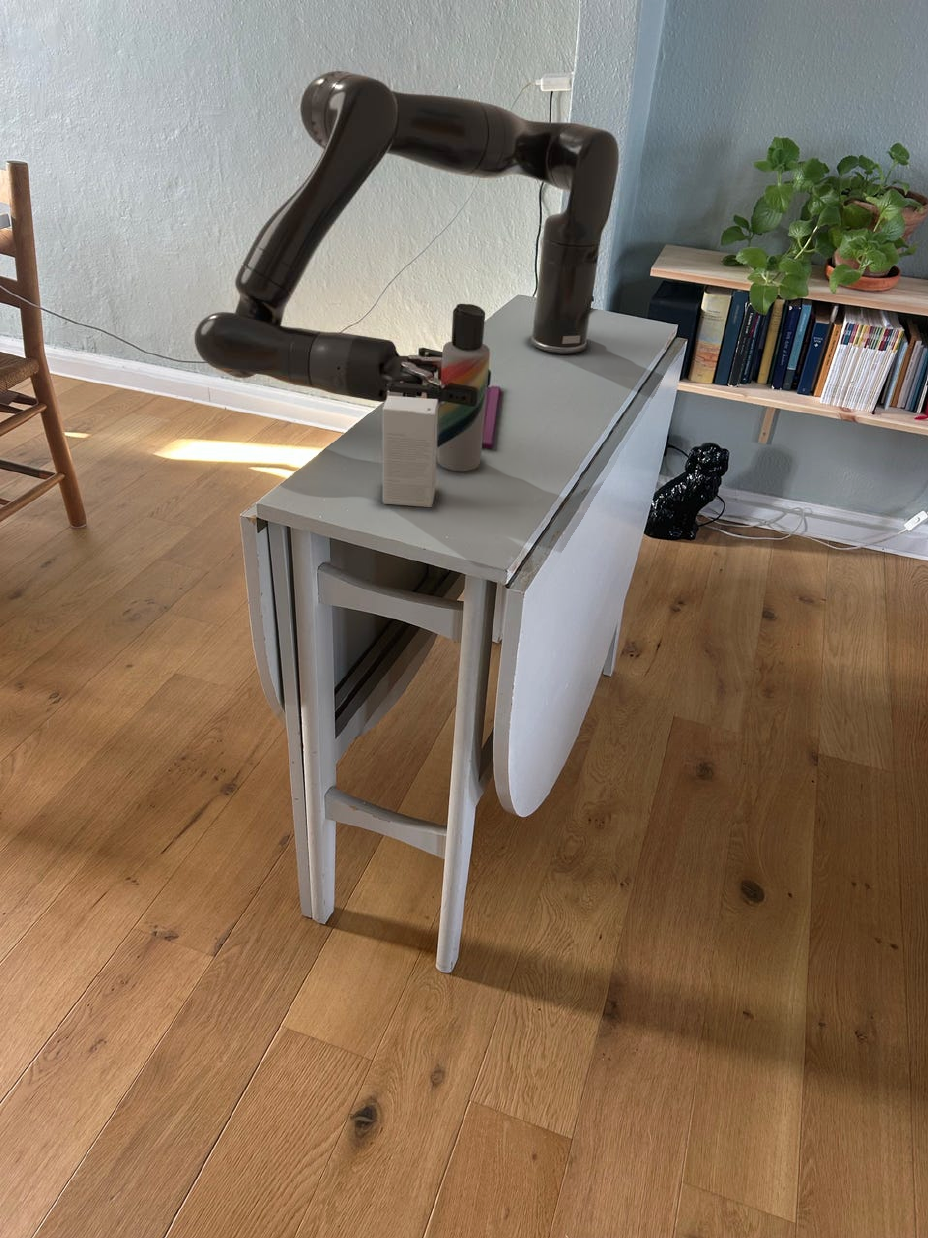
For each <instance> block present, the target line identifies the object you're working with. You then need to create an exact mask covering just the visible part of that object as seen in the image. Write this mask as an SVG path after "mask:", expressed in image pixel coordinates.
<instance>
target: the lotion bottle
mask: <svg viewBox="0 0 928 1238" xmlns="http://www.w3.org/2000/svg"><path fill="white" fill-rule="evenodd" d="M451 320H452V322H451V325H452V326H451V338H450V339H451V340H450V341H448V342H446V343H445V344H444V345H443V347H442V352H443V354H442V370H441V381H444V382H446V383H447V386H448V384H449V383H454V384H459V385H466V386H472V387H476V388H478V390H479V395H478V403H477V404H476V406H474V407H472V406H466V405H460V404H454V403H449V402H447V401H446V403H445V404H439V406H438V420H439V425H438V443H437V450H436V462H437V463H438V465H439V466H441V467H442V468H444V469H446V470H447V471H453V472H470V471H473V470H475V469H477V468H478V467H479V466H480V464H481V459H482V448H483V447H482V439H483V428H484V416H485V405H486V394H487V382H488V371H489V370H490V369H489V368H490V360H491V359H490V358H491V350H490V348H489V347H488V345H486V344H484V333H485V332H484V331H485V321H486V312H485V310H484V309H483V308H482V307H480V306H478V305H475V304H472V303H458V304H456V306H455V308H453V310H452V319H451Z"/></svg>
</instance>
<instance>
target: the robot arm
mask: <svg viewBox="0 0 928 1238" xmlns="http://www.w3.org/2000/svg"><path fill="white" fill-rule="evenodd" d="M299 113H300V118H301V122H302V124H303V127H304V130H305V131H306V133H307V134H308V136H309V137H310V138H311V140H312V141H313V143H315V144H316V145H317V146H319V147H320V148H321V149H322V150H323V151H322V154H321V155H320V158H319V159H318V161H317V163H316V165H315V166H314V168H313V170H311V173H310V174H309V175H308V177H306V179H305V181H303V183H302V184H300V186H299V188H298V189H296V191H295V192H294V193H293V194H292V195H291V196H290V197H289V198H287V200H285V202H283V204H282V205H280V207H279V208H278V209H276V211H275V212H274V213H273V214H272V215H271V216H270V217H269V218H268V220H267V221H266V222H265V223H264V225H263V226H262V228H260V230H259V232H258V233H257V235H256V237H255V239H254V241H253V242H252V245H251V246H250V248H249V250H248V252H247V254H246V256H245V258H244V259H243V262H242V264H241V266H240V268H239V269H238V271H237V274H236V276H235V281H234V286H235V289H236V291H237V293H238V295H239V299H238V302H237V305H236V309H235V312H230V311H219V312H218V311H217V312H213V313H211V314H209V315H207V316H205V317H204V318H203V319H202V320H201V321H199V323H198V324H197V327H196V329H195V332H194V345H195V349H196V351H197V353H198V355H199V356H200V358H202V360H203V361H204V362H205V363H206V364H207V365H209V366H210V367H212V368H213V369H216V370H218V371H221V372H223V373H225V374H227V375H229V376H231V377H234V378H237V379H249V378H251V377H253V376H256V375H261V376H267V377H270V378H273V379H275V380H277V381H280V382H282V383H285V384H288V385H293V386H299V387H304V388H305V387H306V388H311V389H316V390H320V391H323V392H326V393H330V394H334V395H337V396H338V395H339V396H344V397H351V398H356V399H362V400H366V401H373V402H377V403H385V402H386V399H387V396H400V397H413V398H425V399H438V405H440V404H445V403H446V401H447V402H449V403H454V404H460V405H466V406H472V407H474V406H476V404H477V403H478V395H479V390H478V388H476V387H472V386H466V385H459V384H454V383H449V384H448V386H447V383H446V382H444V381H441V370H442V354H443V351H439V350H435V349H431V348H427V347H419V348H418V354H408V355H401V354H399V352H398V351H397V347H396V345H395V343H394V342H393V341H391V340H389V339H384V338H377V337H373V336H371V337H370V336H365V335H359V334H353V333H347V332H340V331H321V330H314V329H309V328H303V327H292V326H285V325H282V324H283V323H282V322H283V319H284V315H285V311H286V308H287V306H288V304H289V302H290V300H291V299H292V298H293V297H292V296H293V295H294V293H295V292H296V289H297V288H298V286H299V283H300V282H301V280H302V277H303V276H304V275H305V272H306V271H307V268H308V267H309V264H310V263H311V261H312V260H313V257H314V256H315V255H316V252H317V251H318V249H319V247H320V246H321V244H322V242H323V241H324V240H325V237H327V235H328V233H329V232H330V230H331V229H332V228H333V226H334V225H335V224H336V222H337V220H338V219H339V218H340V216H341V215H342V213H343V212H344V211H345V210H346V208H347V207H348V206H349V204H350V202H352V200H353V199H354V197H355V196H356V194H357V193H358V192H359V190H360V189H361V188H362V186H363V185H364V183H366V181H367V180H368V178H369V177H370V176H371V174H372V173H373V172H374V170H376V168H377V167H378V166H379V164H380V163H381V161H382V160H383V158H384V157H385V156H386V154H388V155H393V156H396V157H399V158H404V159H405V160H409V161H411V162H415V163H417V164H420V165H423V166H426V167H428V168H432V169H436V170H438V171H442V172H446V173H450V174H454V175H459V176H465V177H472V178H478V179H498V178H499V179H500V178H503V177H507V176H511V175H518V176H524V177H526V178H531V179H533V180H537V181H540V182H542V183H545V184H548V185H550V186H551V187H554V188H557V189H560V190H563V191H566V192H569V195H568V201H567V204H566V208H565V210H564V211H562V212H560V213H559V212H558V213H555V214H551V215H549V216H548V217H546V219H545V221H544V224H543V233H542V242H541V251H540V264H539V270H538V271H539V272H538V280H537V288H536V290H537V291H536V297H535V298H536V299H535V307H534V308H535V309H534V315H533V318H534V319H533V327H532V334H531V338H530V343H531V345H533V346H534V347H535V348H536V349H539V350H541V351H544V352H548V353H552V354H564V355H566V354H567V355H568V354H576V353H577V354H578V353H580V352H582V351H584V350H585V349H586V347H587V343H588V342H587V341H588V340H587V336H588V330H589V324H590V316H591V309H592V304H593V302H594V301H595V296H594V289H595V284H596V283H595V282H596V277H597V268H598V261H599V255H600V247H601V240H602V235H603V232H604V229H605V227H606V225H607V222H608V220H609V216H610V212H611V207H612V201H613V196H614V191H615V187H616V182H617V176H618V170H619V163H620V152H619V151H620V149H619V145H618V141H617V139H616V137H615V136H614V135H613V134H612V133H611V132H609V131H608V130H605V129H603V128H599V127H594V126H591V125H586V124H581V123H576V122H554V121H553V122H552V121H535V120H529V119H525V118H523V117H521V116H519V115H518V114H516V113H514V112H512V111H510V110H508V109H506V108H504V107H501V106H498V105H494V104H491V103H487V102H483V101H479V100H474V99H469V98H462V97H455V96H447V95H436V94H423V93H422V94H419V93H408V92H407V93H405V92H400V91H395V90H391V88H390V87H389V86H388V85H387V84H385V83H384V82H383V81H380V80H379V79H377V78H374V77H371V76H367V75H362V74H357V73H353V72H348V71H344V70H333V71H327V72H325V73H323V74H320V75H319V76H317V77H316V78H314V79H313V80H312V81H311V82H309V84H308V85H307V87H306V89H305V90H304V91H303V94H302V96H301V100H300V112H299ZM435 375H436V376H435ZM491 379H492V371H491V370H490V369H489V371H488V382H487V387H490V385H491Z"/></svg>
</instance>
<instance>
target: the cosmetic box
mask: <svg viewBox="0 0 928 1238" xmlns="http://www.w3.org/2000/svg"><path fill="white" fill-rule="evenodd" d="M381 414H382V415H381V417H382V420H381V421H382V422H381V423H382V503H383V504H385V505H395V506H396V505H398V506H411V507H425V508H432V507H433V503H434V499H435V493H436V481H437V480H436V479H437V478H436V475H437V424H438V420H439V404H438V399H425V398H413V397H400V396H387V399H386V401H384V405H383V407H382V410H381Z"/></svg>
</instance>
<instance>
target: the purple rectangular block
mask: <svg viewBox="0 0 928 1238" xmlns="http://www.w3.org/2000/svg"><path fill="white" fill-rule="evenodd" d="M501 389H502V388H501V387H500V385H499V386H498V385H491V386H488V387H487V394H486V405H485V416H484V428H483V439H482V448H485V449H493V448H494V441H495V434H496V428H497V427H496V426H497V420H498V419H497V418H498V412H499V404H500V397H501V396H500V395H501ZM438 425H439V419H438V421H437V443H438Z"/></svg>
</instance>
